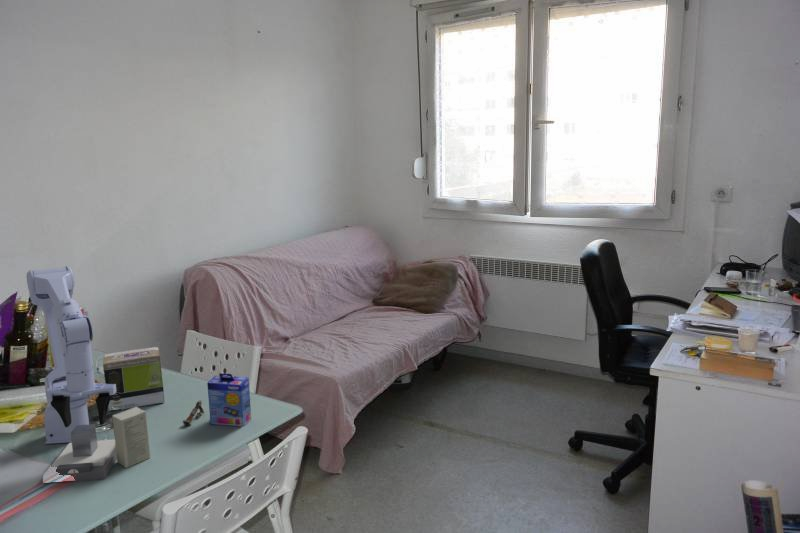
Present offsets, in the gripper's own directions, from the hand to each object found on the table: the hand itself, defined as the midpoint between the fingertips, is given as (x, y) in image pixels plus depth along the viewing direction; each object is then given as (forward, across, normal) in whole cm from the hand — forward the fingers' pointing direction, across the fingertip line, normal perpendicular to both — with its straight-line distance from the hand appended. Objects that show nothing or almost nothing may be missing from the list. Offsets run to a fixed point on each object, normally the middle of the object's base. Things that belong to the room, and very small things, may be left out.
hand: (85, 424), depth 139 cm
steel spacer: (+6, 0, -1) cm, 7 cm away
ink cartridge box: (+10, +31, +16) cm, 36 cm away
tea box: (+10, +2, +34) cm, 35 cm away
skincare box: (+10, +10, -2) cm, 14 cm away
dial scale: (+9, 0, -2) cm, 10 cm away
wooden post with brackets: (+10, +20, +18) cm, 29 cm away
